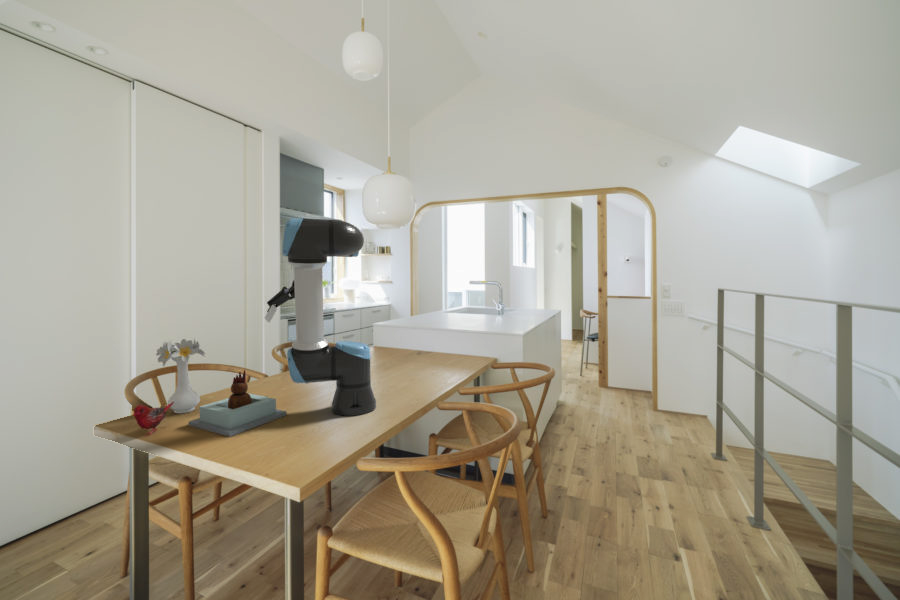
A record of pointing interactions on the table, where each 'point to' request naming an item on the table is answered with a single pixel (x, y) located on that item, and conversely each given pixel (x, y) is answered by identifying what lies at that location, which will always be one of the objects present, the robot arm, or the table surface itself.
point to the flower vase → (181, 373)
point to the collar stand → (237, 415)
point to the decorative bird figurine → (149, 416)
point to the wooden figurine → (239, 392)
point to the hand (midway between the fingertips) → (283, 320)
